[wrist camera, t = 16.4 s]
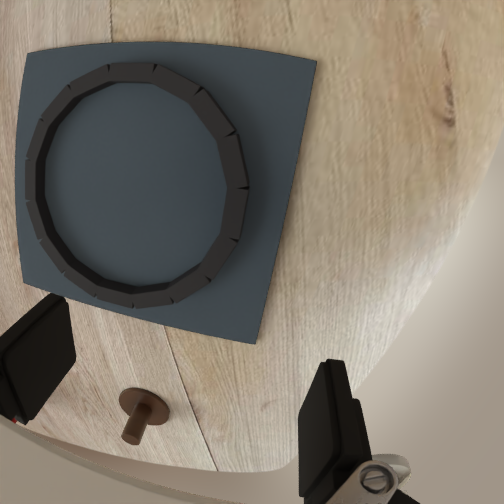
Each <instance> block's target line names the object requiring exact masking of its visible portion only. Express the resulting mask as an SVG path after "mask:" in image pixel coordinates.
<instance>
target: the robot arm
mask: <svg viewBox="0 0 504 504" xmlns="http://www.w3.org/2000/svg"><path fill="white" fill-rule="evenodd" d="M75 361H76V351H75V346H74V340H73V334H72V327H71V320H70V312H69V305H68V303H67V302H66V299H65V298H64V297H63V296H60V295H57V294H54V293H50V294H48V295H47V296H46V297H45V298H43V299H42V300H41V301H40V302H39V303H38V304H36V305H35V306H34V307H33V308H32V309H31V310H29V311H28V312H27V313H26V314H25V315H24V316H23V317H21V318H20V319H19V320H18V321H17V322H16V323H15V324H14V325H13V326H11V327H10V328H9V329H8V330H7V331H6V332H5V333H4V334H3V335H2V336H1V337H0V504H243V503H236V502H231V501H226V500H220V499H214V498H209V497H205V496H200V495H196V494H191V493H187V492H183V491H179V490H175V489H171V488H167V487H164V486H160V485H157V484H154V483H150V482H147V481H144V480H140V479H138V478H134V477H131V476H129V475H126V474H122V473H120V472H117V471H114V470H112V469H109V468H106V467H104V466H101V465H99V464H96V463H94V462H91V461H89V460H86V459H84V458H82V457H80V456H77V455H75V454H73V453H71V452H69V451H67V450H65V449H62V448H60V447H58V446H56V445H54V444H52V443H50V442H48V441H46V440H44V439H42V438H40V437H38V436H37V435H35V434H33V433H31V432H29V431H28V430H26V429H24V428H22V427H21V426H19V425H17V424H15V423H14V422H12V420H13V418H15V420H17V421H19V422H20V423H22V424H24V425H26V424H27V423H28V421H29V420H33V419H34V418H35V416H36V415H37V414H38V412H39V411H40V409H41V408H42V407H43V405H44V404H45V402H46V401H47V400H48V398H49V397H50V396H51V394H52V393H53V392H54V390H55V389H56V387H57V386H58V385H59V383H60V382H61V381H62V379H63V378H64V377H65V375H66V374H67V373H68V371H69V370H70V369H71V368H72V366H73V365H74V363H75ZM298 448H299V496H300V497H304V504H420V503H418V502H417V501H415V500H414V499H412V498H411V497H409V496H408V495H407V491H401V490H399V489H398V488H397V487H398V476H397V473H396V472H395V471H394V469H393V468H392V467H391V466H389V465H388V464H386V463H384V462H382V461H377V460H372V455H371V450H370V445H369V441H368V436H367V431H366V426H365V422H364V417H363V413H362V408H361V404H360V401H359V400H358V399H354V398H352V394H351V389H350V385H349V380H348V376H347V371H346V367H345V363H344V361H342V360H334V359H327V360H326V362H321V363H320V365H319V367H318V370H317V372H316V374H315V377H314V379H313V382H312V384H311V386H310V389H309V391H308V393H307V396H306V398H305V400H304V402H303V405H302V407H301V409H300V412H299V416H298Z"/></svg>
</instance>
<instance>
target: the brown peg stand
mask: <svg viewBox="0 0 504 504" xmlns="http://www.w3.org/2000/svg"><path fill="white" fill-rule="evenodd" d="M119 403H120V406H121V408H122V409H123V410H124V411H125V413H127V414H128V415H129V416H130V417H129V419H128V422H127V424H126V426H125V428H124V430H123V433H122V435H121V437H122V439H123V440H124V441H125V442H127V443H129V444H131V445H139V444H140V441H141V439H142V436H143V434H144V431H145V428H146V426H147V424H148V425H162V424H164V423H166V422H167V420H168V418H169V415H170V411H169V408H168V406H167V405H166V403H165V402H164V401H163V400H162V399H161V398H159V397H158V396H157V395H155V394H153V393H151V392H149V391H146V390H143V389H139V388H128V389H125V390H124V391H123V392H122V393H121V395H120V397H119Z"/></svg>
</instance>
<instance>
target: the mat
mask: <svg viewBox="0 0 504 504" xmlns="http://www.w3.org/2000/svg"><path fill="white" fill-rule="evenodd" d="M111 63H155V64H157V65H158V64H160V65H162V66H164V67H166V68H168V69H170V70H172V71H174V72H176V73H178V74H180V75H182V76H184V77H185V78H187V79H189V80H191V81H193V82H195V83H197V84H199V85H200V86H202V87H204V88H205V90H207V91H209V93H210V94H211V95H212V97H213V98H214V99H215V101H216V102H217V103H218V105H219V106H220V107H221V109H222V110H223V111H224V113H225V114H226V115H227V117H228V118H229V119H230V121H231V122H232V124H233V125H234V126H235V128H236V129H237V131H236V132H234V133H233V134H231V135H234V134H239V136H240V141H241V145H242V149H243V154H244V158H245V163H246V167H247V172H248V176H249V181H250V183H249V185H248V186H250V190H249V195H248V201H247V206H246V212H245V217H244V223H243V228H242V234H241V237H240V239H239V241H238V244H237V246H236V247H235V248H234V250H233V251H232V253H231V254H230V256H229V257H228V259H227V260H226V262H225V263H224V265H223V266H222V268H221V269H220V271H219V272H218V274H217V275H216V277H215V278H214V280H211V282H210V283H209V284H208V285H206V286H204V287H203V288H201V289H199V290H198V291H196V292H195V293H193V294H191V295H190V296H188V297H186V298H185V299H183V300H181V301H180V302H178V303H175V302H174V304H173V305H165V306H157V307H149V308H141V309H136V308H135V306H134V308H133V309H131V308H127V307H123V306H120V305H116V304H112V303H109V302H105V301H102V300H98V299H97V295H96V296H95V298H94V297H92V296H91V295H89V294H88V293H86V292H85V291H84V290H82V289H81V288H79V287H78V286H77V285H75V284H74V283H72V282H71V281H70V280H68V279H67V278H66V277H64V273H65V271H64V272H63V273H62V274H61V272H60V271H59V270H58V268H57V267H56V266H55V264H54V263H53V262H52V260H51V259H50V258H49V256H48V255H47V253H46V252H45V251H44V249H43V248H42V246H41V245H40V243H39V242H40V241H41V240H42V239H39V240H37V237H36V234H35V231H34V228H33V225H32V222H31V219H30V216H29V213H28V209H27V206H26V202H28V201H30V200H25V160H26V159H28V158H27V157H26V154H27V151H28V148H29V145H30V142H31V139H32V136H33V133H34V131H35V128H36V125H37V122H38V120H39V118H42V117H41V114H42V113H43V112H44V111H45V109H46V108H47V107H48V106H49V105H50V103H51V102H52V101H53V100H54V99H55V97H56V96H57V95H58V94H59V93H60V92H61V90H62V89H63V88H64V87H65V86H66V85H67V84H68V85H70V82H71V81H73V80H75V79H77V78H79V77H81V76H83V75H85V74H87V73H89V72H91V71H93V70H95V69H97V68H99V67H101V66H103V65H106V64H111ZM316 64H317V61H314V60H310V59H305V58H300V57H295V56H290V55H285V54H280V53H274V52H268V51H262V50H255V49H248V48H241V47H232V46H223V45H212V44H200V43H182V42H118V43H101V44H89V45H79V46H70V47H62V48H55V49H49V50H42V51H37V52H31V53H27V58H26V63H25V68H24V74H23V80H22V87H21V94H20V101H19V110H18V120H17V132H16V150H15V204H16V222H17V235H18V245H19V254H20V262H21V269H22V276H23V283H25V284H28V285H31V286H34V287H36V288H39V289H42V290H45V291H48V292H51V293H54V294H57V295H60V296H63V297H66V298H69V299H73V300H76V301H79V302H82V303H85V304H89V305H92V306H95V307H99V308H102V309H106V310H109V311H113V312H116V313H120V314H123V315H127V316H131V317H134V318H138V319H142V320H146V321H150V322H154V323H157V324H161V325H166V326H170V327H174V328H178V329H182V330H187V331H191V332H195V333H200V334H204V335H209V336H214V337H219V338H223V339H228V340H233V341H238V342H244V343H249V344H254V345H255V344H256V340H257V336H258V332H259V327H260V323H261V319H262V315H263V311H264V307H265V302H266V298H267V294H268V290H269V285H270V281H271V277H272V272H273V268H274V264H275V259H276V255H277V251H278V246H279V242H280V237H281V233H282V228H283V224H284V219H285V215H286V210H287V206H288V201H289V196H290V192H291V187H292V182H293V178H294V173H295V168H296V164H297V159H298V154H299V149H300V144H301V140H302V135H303V130H304V125H305V120H306V115H307V110H308V105H309V100H310V95H311V90H312V84H313V79H314V74H315V69H316ZM226 191H227V186H226V182H225V177H224V173H223V169H222V165H221V160H220V156H219V152H218V148H217V143H216V140H215V139H214V138H213V136H212V135H211V134H210V132H209V131H208V130H207V128H206V127H205V125H204V124H203V123H202V121H201V120H200V119H199V117H198V116H197V115H196V113H195V112H194V111H193V109H192V108H191V107H190V105H189V104H188V103H187V102H185V101H183V100H182V99H180V98H178V97H176V96H174V95H173V94H171V93H169V92H167V91H165V90H163V89H161V88H159V87H158V86H156V85H154V84H140V83H116V84H114V85H111V86H109V87H107V88H104V89H102V90H100V91H98V92H95V93H93V94H91V95H89V96H87V97H85V98H83V99H82V100H81V101H80V102H79V103H78V104H77V105H76V106H75V108H74V109H73V110H72V111H71V112H70V113H69V114H68V115H67V116H66V118H65V119H64V120H63V121H62V122H61V123H60V124H59V126H58V128H57V131H56V133H55V136H54V138H53V141H52V144H51V146H50V149H49V152H48V155H47V157H46V162H45V198H46V201H47V205H48V208H49V211H50V214H51V217H52V220H53V224H54V227H55V230H56V232H57V233H58V234H59V236H60V237H61V239H62V240H63V241H64V243H65V244H66V246H67V247H68V248H69V250H70V251H71V252H72V254H73V255H74V257H75V258H76V259H77V260H79V261H80V262H82V263H83V264H84V265H86V266H87V267H89V268H90V269H91V270H93V271H94V272H96V273H97V274H99V275H100V276H102V277H103V278H105V279H108V280H112V281H116V282H120V283H124V284H128V285H132V286H136V287H140V286H147V285H153V284H160V283H166V282H171V281H173V280H174V279H176V278H177V277H179V276H180V275H182V274H183V273H185V272H186V271H188V270H189V269H191V268H193V267H194V266H196V265H197V264H199V263H200V262H202V260H203V258H204V257H205V255H206V254H207V252H208V250H209V249H210V247H211V246H212V244H213V243H214V241H215V239H216V238H217V236H218V235H219V233H220V229H221V223H222V216H223V210H224V204H225V198H226Z"/></svg>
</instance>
